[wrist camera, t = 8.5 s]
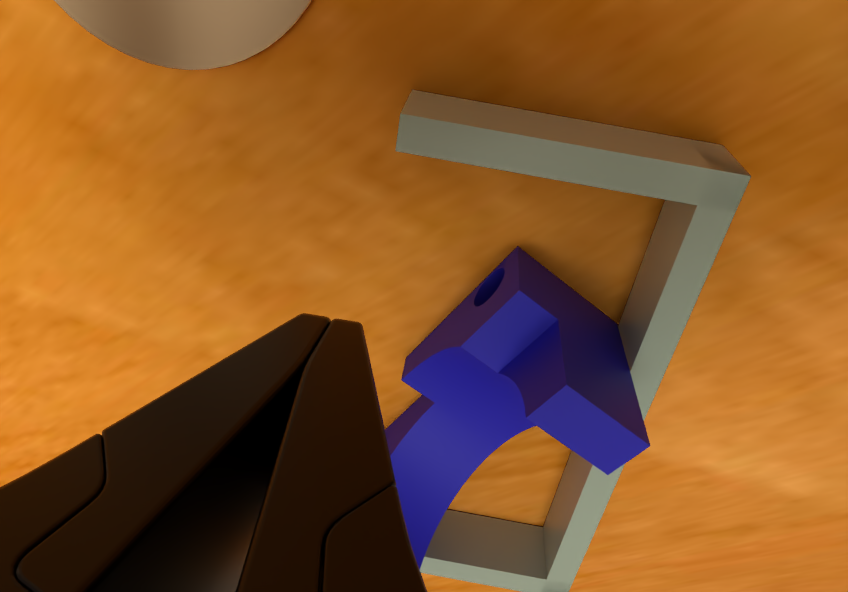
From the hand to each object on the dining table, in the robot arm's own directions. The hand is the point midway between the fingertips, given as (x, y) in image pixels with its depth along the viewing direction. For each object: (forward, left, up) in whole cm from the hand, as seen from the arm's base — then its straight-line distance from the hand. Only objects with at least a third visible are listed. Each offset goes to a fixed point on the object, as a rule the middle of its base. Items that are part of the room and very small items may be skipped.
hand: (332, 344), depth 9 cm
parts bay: (-4, +8, -12) cm, 15 cm away
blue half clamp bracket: (-3, +10, -12) cm, 16 cm away
